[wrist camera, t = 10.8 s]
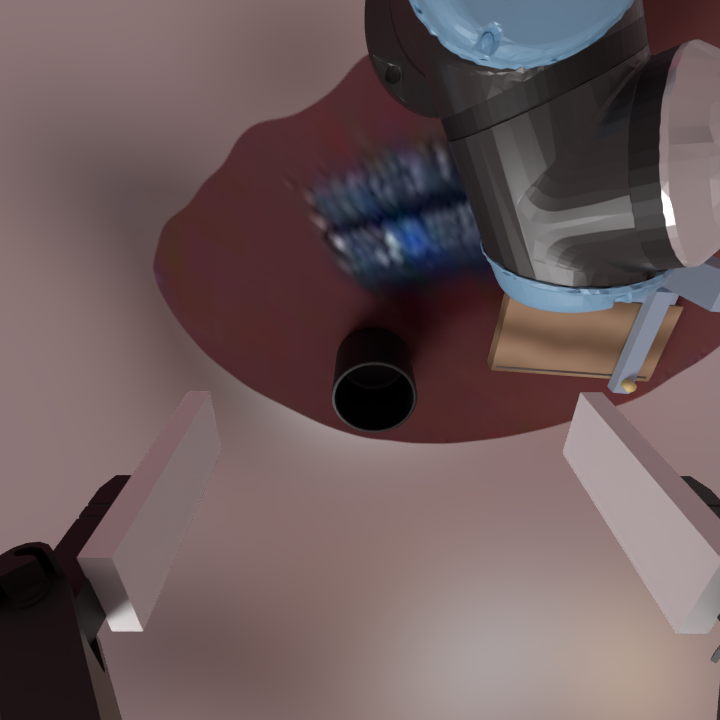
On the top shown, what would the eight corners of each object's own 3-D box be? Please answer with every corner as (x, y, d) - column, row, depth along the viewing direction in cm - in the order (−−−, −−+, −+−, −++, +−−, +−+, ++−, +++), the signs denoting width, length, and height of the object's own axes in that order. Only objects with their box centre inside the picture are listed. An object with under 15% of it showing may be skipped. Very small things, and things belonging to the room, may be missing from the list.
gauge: (642, 233, 46) (725, 263, 36) (687, 237, 46) (782, 268, 36) (587, 376, 55) (640, 434, 44) (624, 379, 55) (686, 437, 44)
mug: (363, 414, 58) (363, 459, 50) (323, 343, 53) (316, 381, 45) (427, 390, 56) (437, 433, 48) (392, 314, 51) (398, 348, 43)
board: (505, 287, 49) (511, 293, 47) (672, 300, 50) (684, 307, 48) (487, 362, 54) (491, 370, 52) (639, 373, 55) (648, 381, 53)
